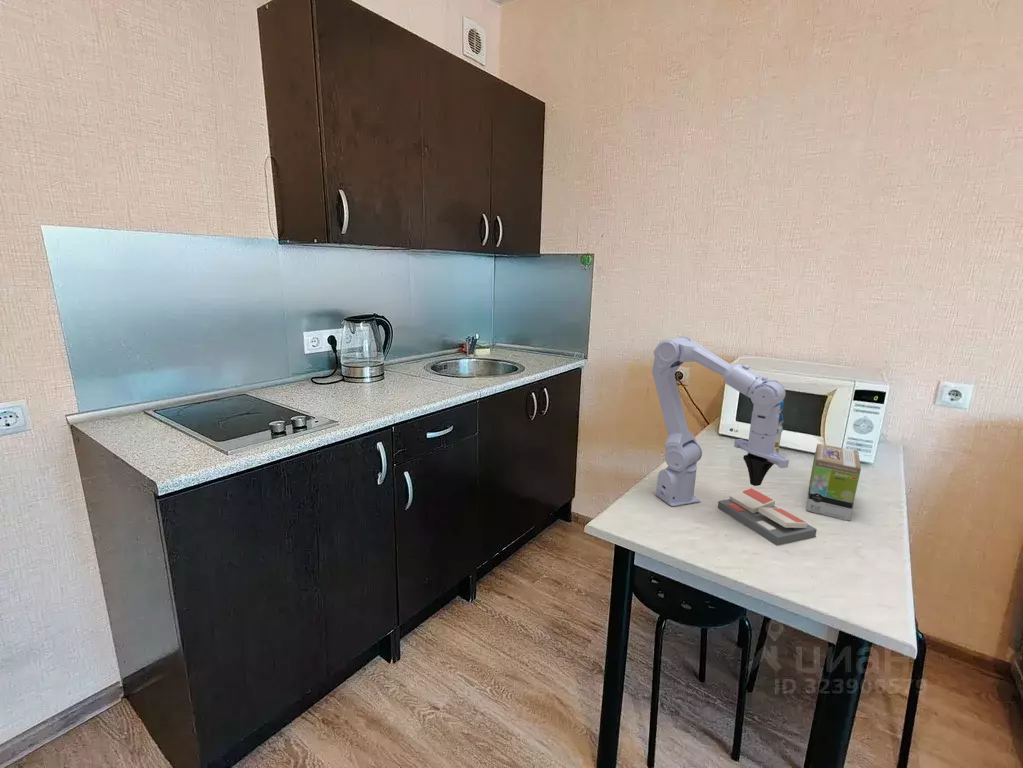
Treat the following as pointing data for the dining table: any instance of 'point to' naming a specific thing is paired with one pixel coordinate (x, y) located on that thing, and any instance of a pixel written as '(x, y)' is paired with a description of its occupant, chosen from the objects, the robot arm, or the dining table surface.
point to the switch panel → (766, 524)
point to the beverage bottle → (779, 428)
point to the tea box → (833, 481)
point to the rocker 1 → (751, 500)
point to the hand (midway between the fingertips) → (755, 484)
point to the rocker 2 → (783, 517)
